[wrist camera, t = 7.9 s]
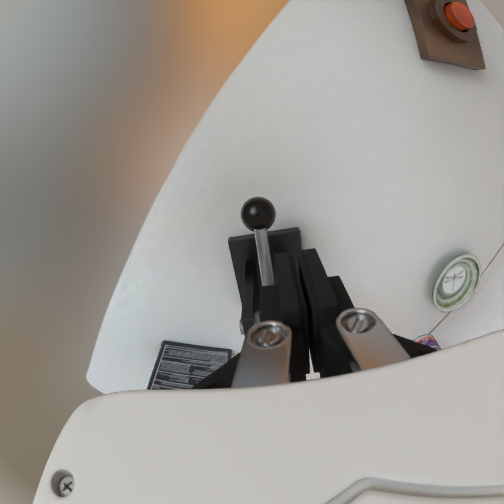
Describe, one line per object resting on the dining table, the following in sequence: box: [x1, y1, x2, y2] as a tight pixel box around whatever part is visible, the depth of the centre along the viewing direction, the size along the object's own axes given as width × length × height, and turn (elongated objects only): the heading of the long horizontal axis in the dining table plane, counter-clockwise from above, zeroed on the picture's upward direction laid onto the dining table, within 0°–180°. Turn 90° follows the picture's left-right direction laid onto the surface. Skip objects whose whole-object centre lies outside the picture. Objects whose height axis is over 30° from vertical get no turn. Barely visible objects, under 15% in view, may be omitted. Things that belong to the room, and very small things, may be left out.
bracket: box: [228, 227, 302, 336], centre depth 29 cm, size 10×8×12 cm
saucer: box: [432, 254, 481, 312], centre depth 33 cm, size 10×10×2 cm
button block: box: [405, 0, 485, 70], centre depth 18 cm, size 12×10×4 cm
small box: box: [146, 341, 232, 390], centre depth 36 cm, size 11×6×10 cm, turn 84°
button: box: [444, 2, 474, 30], centre depth 16 cm, size 4×4×2 cm
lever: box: [241, 197, 276, 318], centre depth 26 cm, size 13×3×3 cm, turn 9°
